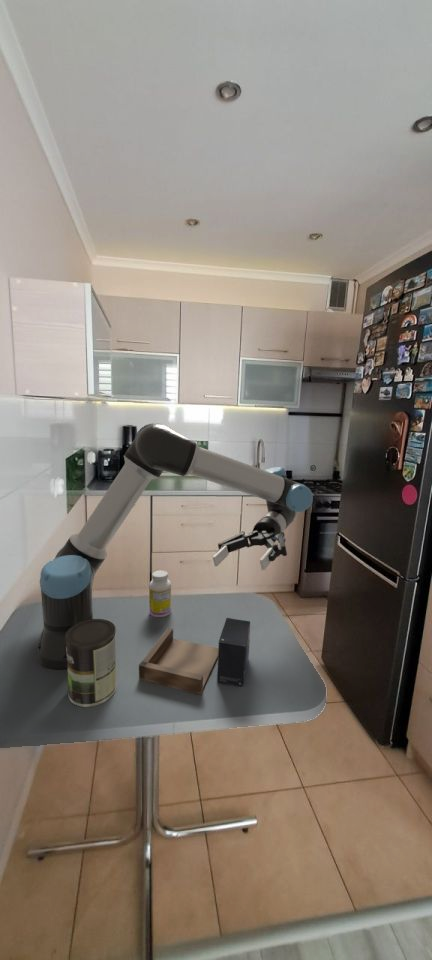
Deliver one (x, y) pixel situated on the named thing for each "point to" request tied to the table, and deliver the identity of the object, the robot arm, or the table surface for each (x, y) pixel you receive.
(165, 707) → the table surface
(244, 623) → the small box
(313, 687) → the table surface
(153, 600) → the supplement bottle
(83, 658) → the coffee can
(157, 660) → the corner tray
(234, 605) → the table surface
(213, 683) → the table surface
